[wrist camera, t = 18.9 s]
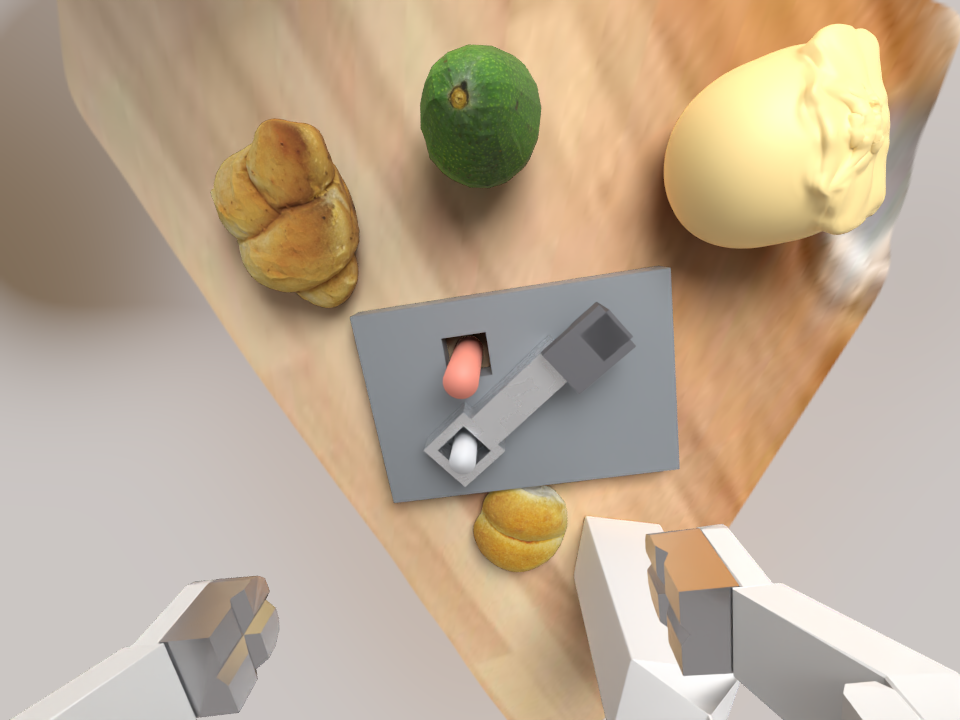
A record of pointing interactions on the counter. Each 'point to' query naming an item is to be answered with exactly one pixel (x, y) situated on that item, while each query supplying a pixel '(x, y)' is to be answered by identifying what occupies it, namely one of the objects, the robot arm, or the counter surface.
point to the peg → (464, 368)
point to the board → (511, 337)
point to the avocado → (480, 115)
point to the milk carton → (636, 632)
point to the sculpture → (784, 145)
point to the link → (498, 412)
